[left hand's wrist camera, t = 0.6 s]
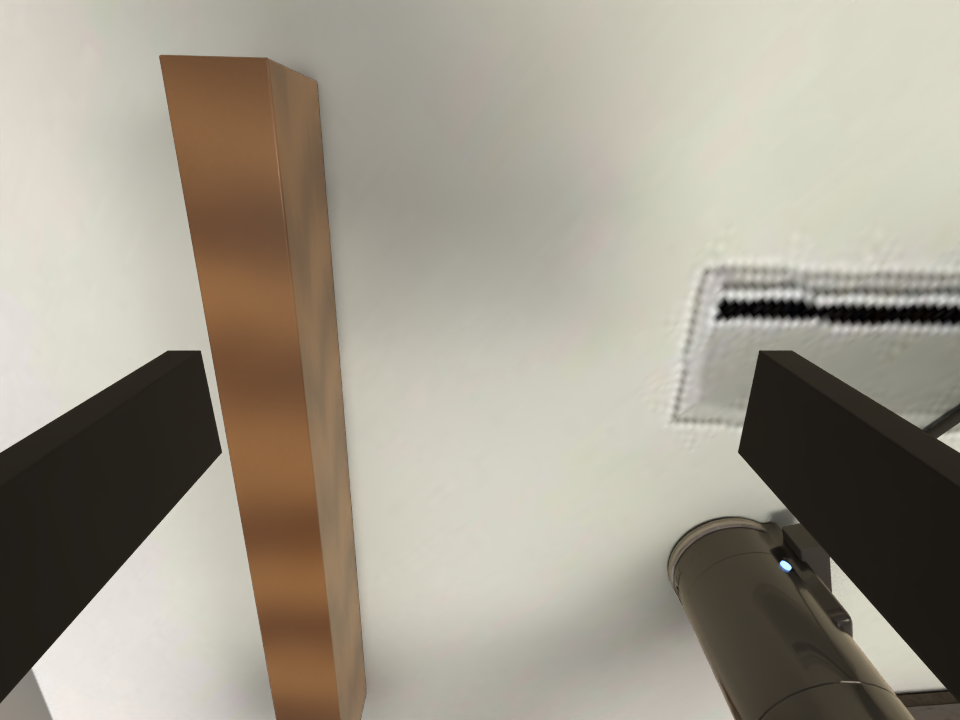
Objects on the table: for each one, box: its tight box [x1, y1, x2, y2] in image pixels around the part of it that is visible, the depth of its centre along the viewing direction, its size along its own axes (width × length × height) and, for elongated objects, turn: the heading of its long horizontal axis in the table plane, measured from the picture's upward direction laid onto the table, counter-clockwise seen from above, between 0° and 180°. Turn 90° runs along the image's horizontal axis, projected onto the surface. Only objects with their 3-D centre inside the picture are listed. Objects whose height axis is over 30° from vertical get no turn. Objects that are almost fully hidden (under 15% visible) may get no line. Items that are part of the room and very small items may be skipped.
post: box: [159, 55, 366, 720], centre depth 37 cm, size 53×5×8 cm, turn 179°
